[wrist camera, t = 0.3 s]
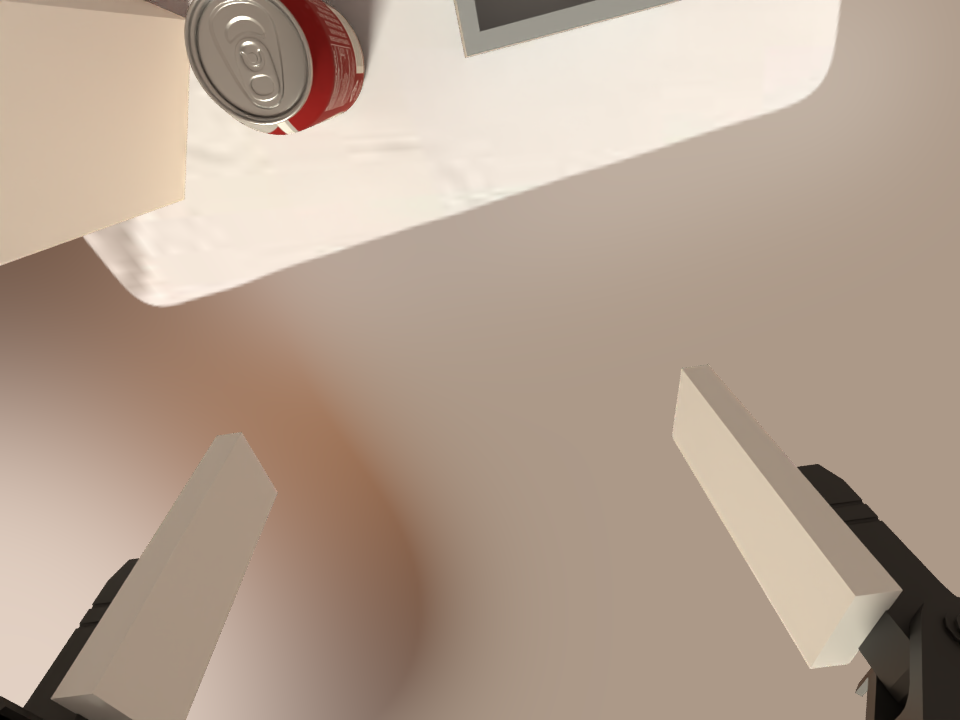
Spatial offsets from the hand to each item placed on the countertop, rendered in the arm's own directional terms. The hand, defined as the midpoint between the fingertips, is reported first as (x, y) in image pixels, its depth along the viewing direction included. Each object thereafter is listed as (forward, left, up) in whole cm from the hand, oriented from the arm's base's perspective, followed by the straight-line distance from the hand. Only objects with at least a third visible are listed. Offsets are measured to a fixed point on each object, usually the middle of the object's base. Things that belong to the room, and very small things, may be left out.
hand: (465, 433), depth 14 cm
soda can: (-12, -7, -27) cm, 30 cm away
